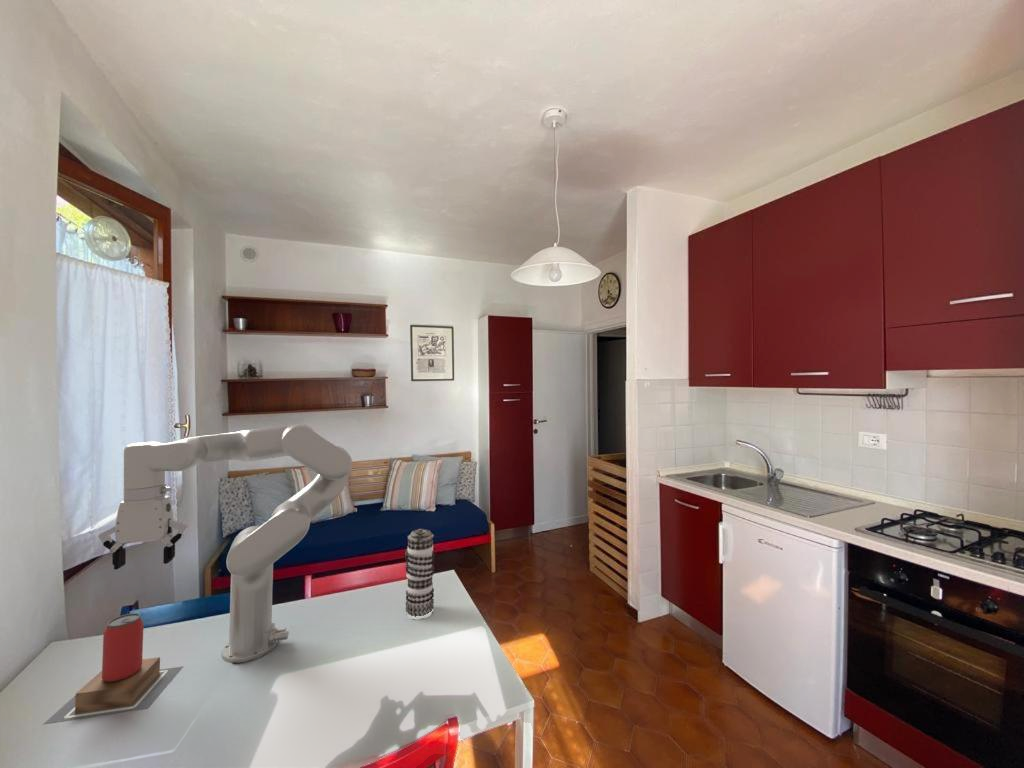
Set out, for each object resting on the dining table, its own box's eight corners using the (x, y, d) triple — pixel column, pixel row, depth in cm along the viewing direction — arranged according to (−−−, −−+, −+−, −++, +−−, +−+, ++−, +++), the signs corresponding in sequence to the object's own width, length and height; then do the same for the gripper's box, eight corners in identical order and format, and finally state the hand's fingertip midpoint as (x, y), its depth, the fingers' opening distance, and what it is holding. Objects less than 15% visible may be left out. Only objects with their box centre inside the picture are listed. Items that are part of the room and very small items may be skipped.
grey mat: (183, 668, 101) (183, 666, 101) (147, 710, 87) (147, 708, 87) (94, 679, 96) (94, 677, 97) (42, 726, 83) (42, 723, 83)
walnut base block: (159, 674, 98) (160, 657, 98) (131, 704, 88) (132, 685, 88) (109, 681, 96) (109, 663, 96) (74, 713, 86) (75, 693, 86)
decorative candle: (406, 606, 131) (407, 527, 132) (435, 604, 132) (436, 526, 133) (402, 621, 122) (403, 536, 123) (433, 619, 123) (434, 535, 124)
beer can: (115, 686, 88) (118, 629, 89) (93, 681, 90) (95, 625, 90) (149, 666, 95) (151, 613, 95) (128, 662, 96) (130, 610, 97)
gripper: (193, 487, 106) (193, 554, 105) (110, 493, 101) (109, 563, 100) (179, 493, 99) (179, 565, 98) (89, 500, 94) (88, 576, 93)
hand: (144, 564), depth 99 cm, fingers open, 9 cm apart
